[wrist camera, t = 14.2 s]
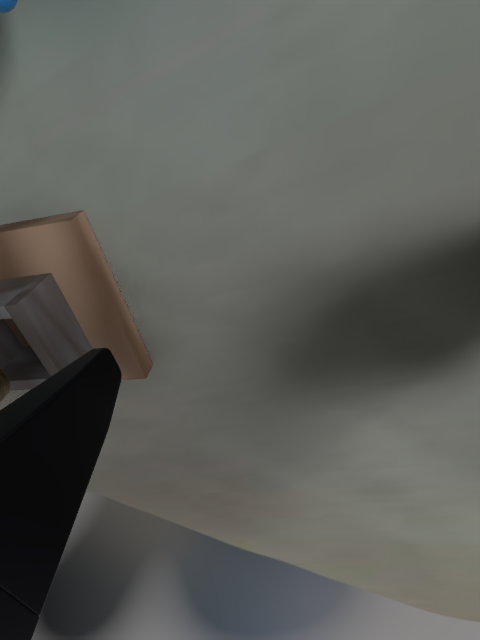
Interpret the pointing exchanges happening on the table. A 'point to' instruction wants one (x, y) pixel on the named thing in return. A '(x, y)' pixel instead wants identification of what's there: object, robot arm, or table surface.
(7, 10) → the alarm clock
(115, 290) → the post stand
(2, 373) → the bronze post
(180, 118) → the table surface
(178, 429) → the table surface
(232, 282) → the table surface
